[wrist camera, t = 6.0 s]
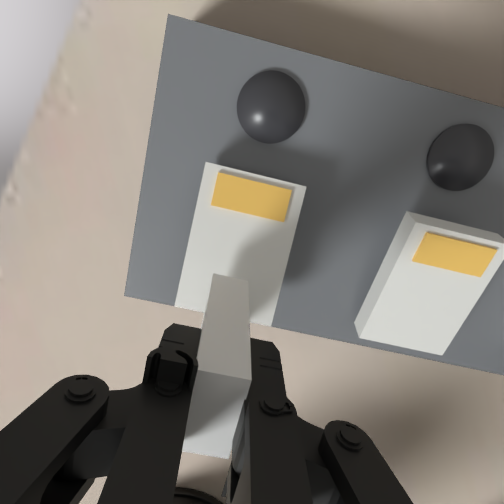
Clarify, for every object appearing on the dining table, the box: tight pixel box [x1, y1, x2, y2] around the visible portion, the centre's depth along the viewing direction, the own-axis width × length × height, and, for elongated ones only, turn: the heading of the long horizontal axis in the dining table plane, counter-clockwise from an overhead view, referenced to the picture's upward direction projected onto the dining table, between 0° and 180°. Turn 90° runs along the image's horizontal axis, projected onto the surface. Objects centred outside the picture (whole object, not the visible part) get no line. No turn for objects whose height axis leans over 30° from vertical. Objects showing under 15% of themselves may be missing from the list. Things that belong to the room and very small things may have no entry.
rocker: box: [174, 162, 306, 327], centre depth 17 cm, size 4×6×1 cm
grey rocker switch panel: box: [124, 14, 504, 375], centre depth 21 cm, size 28×13×4 cm, turn 76°
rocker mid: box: [354, 211, 504, 355], centre depth 18 cm, size 4×6×1 cm
